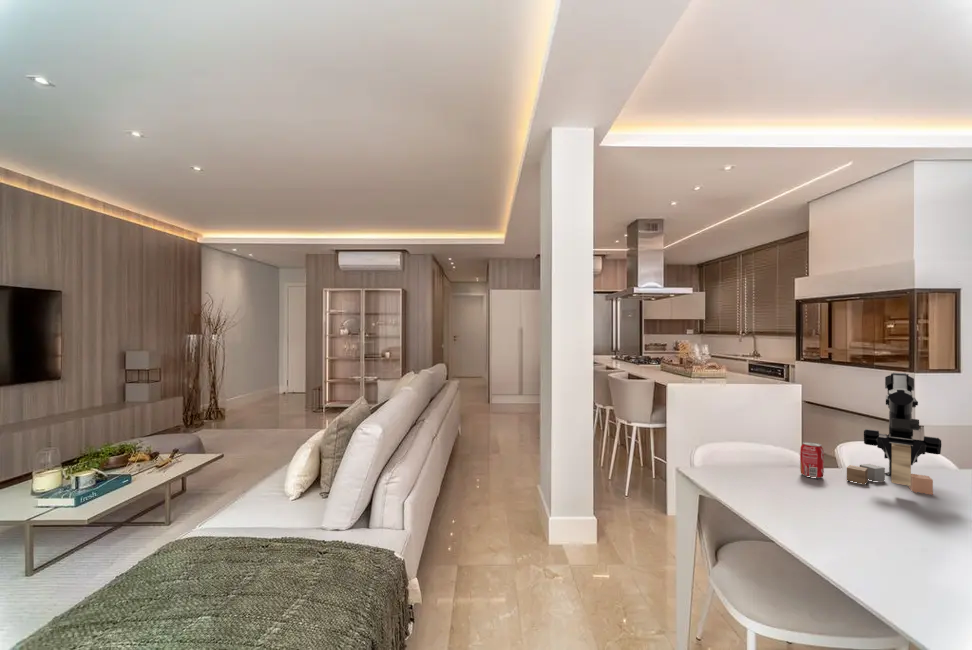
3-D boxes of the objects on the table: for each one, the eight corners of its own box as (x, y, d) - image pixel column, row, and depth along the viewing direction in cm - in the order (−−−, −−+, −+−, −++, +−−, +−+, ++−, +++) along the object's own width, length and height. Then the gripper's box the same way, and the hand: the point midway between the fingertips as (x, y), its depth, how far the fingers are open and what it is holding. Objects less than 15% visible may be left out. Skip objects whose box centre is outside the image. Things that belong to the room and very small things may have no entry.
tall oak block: (891, 479, 148) (891, 443, 148) (910, 482, 145) (910, 445, 145) (891, 482, 145) (891, 445, 145) (910, 486, 142) (910, 448, 142)
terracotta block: (908, 487, 154) (908, 473, 154) (928, 490, 151) (928, 476, 151) (912, 491, 150) (912, 477, 150) (932, 495, 147) (932, 479, 147)
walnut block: (849, 478, 163) (849, 465, 163) (867, 482, 159) (867, 468, 159) (846, 481, 159) (846, 467, 159) (864, 485, 156) (864, 471, 156)
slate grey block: (869, 477, 165) (869, 463, 165) (884, 481, 160) (884, 467, 160) (859, 478, 164) (859, 464, 164) (874, 482, 159) (874, 468, 159)
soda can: (815, 474, 167) (816, 441, 168) (828, 480, 160) (828, 446, 161) (795, 473, 168) (796, 441, 168) (807, 479, 161) (807, 445, 161)
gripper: (864, 405, 154) (862, 443, 146) (941, 412, 142) (944, 454, 134) (864, 424, 160) (863, 462, 152) (938, 433, 148) (941, 474, 139)
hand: (901, 463), depth 144 cm, fingers closed on tall oak block, 4 cm apart
